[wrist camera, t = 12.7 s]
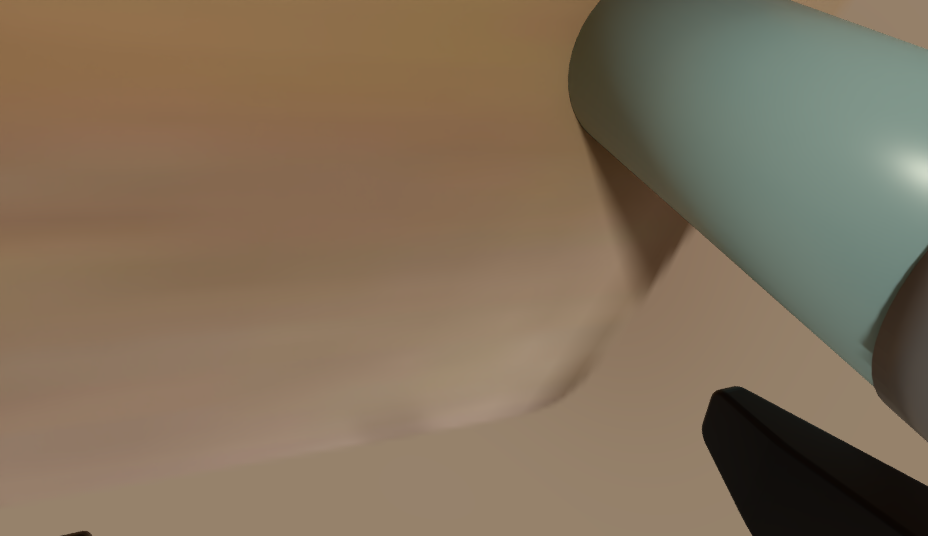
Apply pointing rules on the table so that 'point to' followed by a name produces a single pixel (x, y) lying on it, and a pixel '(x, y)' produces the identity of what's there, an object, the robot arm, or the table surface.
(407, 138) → the table surface
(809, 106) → the canister
